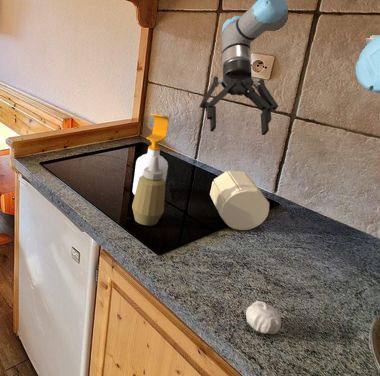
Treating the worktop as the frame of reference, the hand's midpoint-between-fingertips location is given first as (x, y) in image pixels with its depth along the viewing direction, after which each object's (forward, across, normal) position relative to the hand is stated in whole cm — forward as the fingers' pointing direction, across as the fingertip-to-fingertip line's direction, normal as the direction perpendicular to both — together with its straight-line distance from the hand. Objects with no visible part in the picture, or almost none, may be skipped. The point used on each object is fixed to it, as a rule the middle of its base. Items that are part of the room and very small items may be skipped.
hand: (239, 131), depth 110 cm
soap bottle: (+16, +22, -14) cm, 30 cm away
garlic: (+52, +6, +23) cm, 58 cm away
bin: (+24, 0, +2) cm, 24 cm away
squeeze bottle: (+27, +24, -2) cm, 36 cm away
